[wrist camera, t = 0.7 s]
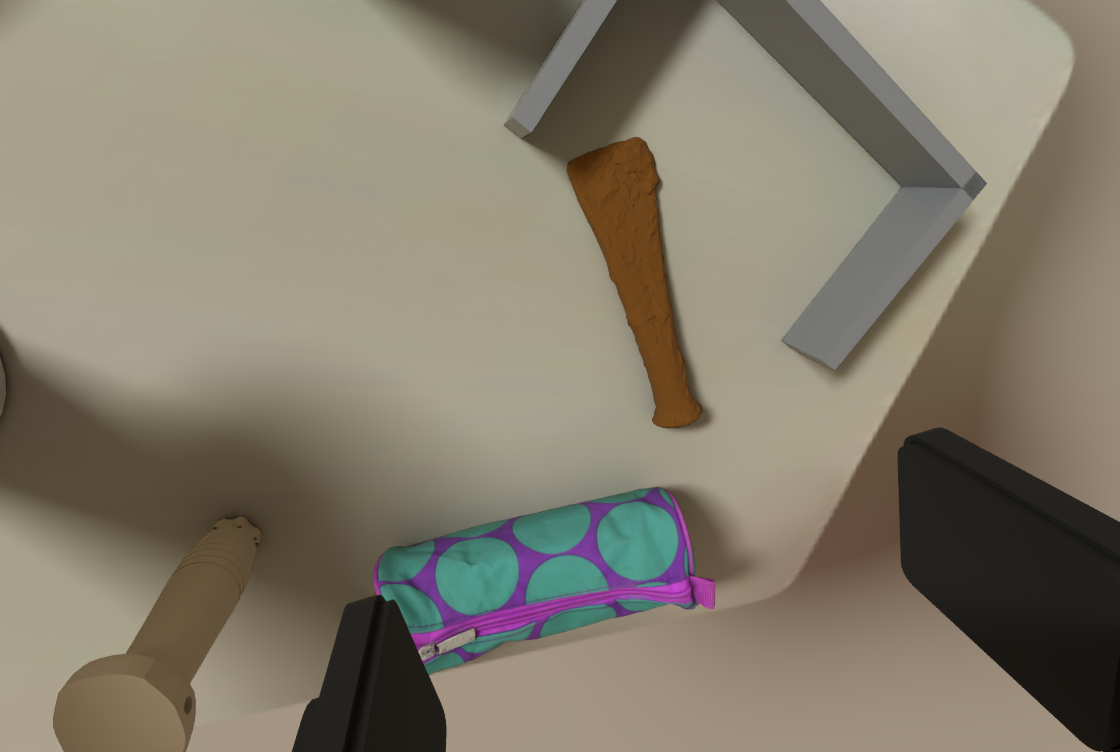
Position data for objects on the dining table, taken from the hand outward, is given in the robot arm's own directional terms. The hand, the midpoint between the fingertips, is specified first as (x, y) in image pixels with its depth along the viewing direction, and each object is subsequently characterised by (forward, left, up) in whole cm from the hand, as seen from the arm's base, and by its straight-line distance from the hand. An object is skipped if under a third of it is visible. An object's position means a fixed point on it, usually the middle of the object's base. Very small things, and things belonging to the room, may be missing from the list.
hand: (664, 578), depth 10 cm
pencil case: (-15, -12, -29) cm, 35 cm away
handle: (-24, +6, -29) cm, 38 cm away
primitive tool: (+5, -7, -30) cm, 31 cm away
